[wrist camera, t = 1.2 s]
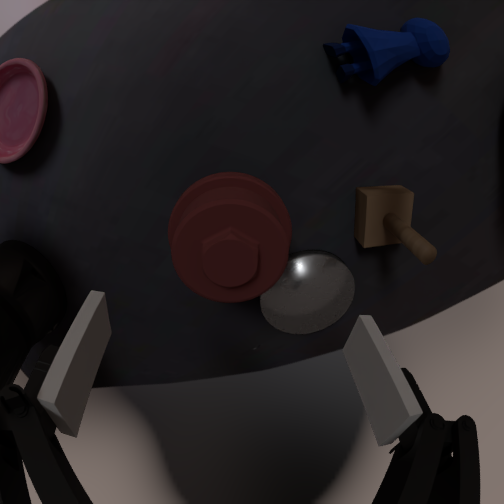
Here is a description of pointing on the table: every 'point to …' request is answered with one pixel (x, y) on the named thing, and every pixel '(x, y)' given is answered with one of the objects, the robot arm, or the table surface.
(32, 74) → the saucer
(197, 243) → the mechanical component
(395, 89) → the table surface
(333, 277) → the grey round disc
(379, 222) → the brown wooden peg block
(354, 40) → the toy
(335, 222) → the table surface
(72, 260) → the table surface
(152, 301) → the table surface
